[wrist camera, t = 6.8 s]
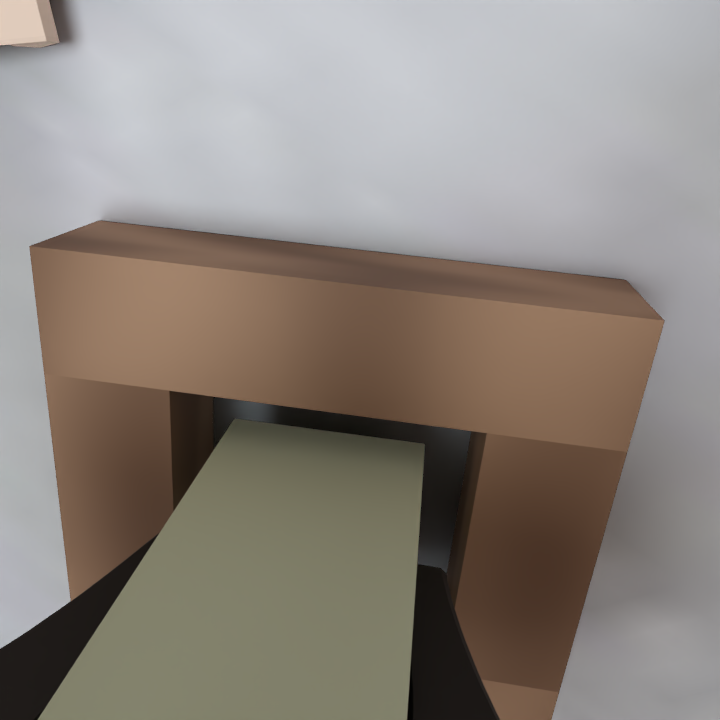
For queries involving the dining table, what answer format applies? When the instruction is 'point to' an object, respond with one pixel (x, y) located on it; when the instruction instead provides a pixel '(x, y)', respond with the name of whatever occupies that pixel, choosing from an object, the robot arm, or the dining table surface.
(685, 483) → the dining table surface
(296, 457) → the peg
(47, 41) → the newspaper
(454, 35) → the dining table surface
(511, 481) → the socket block
